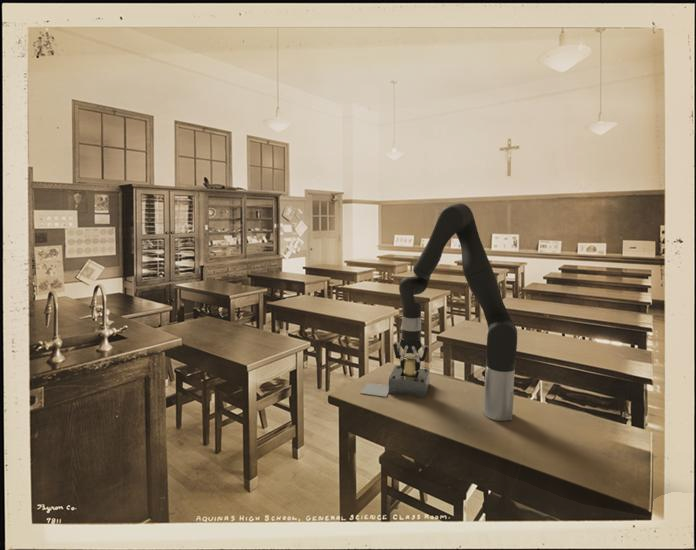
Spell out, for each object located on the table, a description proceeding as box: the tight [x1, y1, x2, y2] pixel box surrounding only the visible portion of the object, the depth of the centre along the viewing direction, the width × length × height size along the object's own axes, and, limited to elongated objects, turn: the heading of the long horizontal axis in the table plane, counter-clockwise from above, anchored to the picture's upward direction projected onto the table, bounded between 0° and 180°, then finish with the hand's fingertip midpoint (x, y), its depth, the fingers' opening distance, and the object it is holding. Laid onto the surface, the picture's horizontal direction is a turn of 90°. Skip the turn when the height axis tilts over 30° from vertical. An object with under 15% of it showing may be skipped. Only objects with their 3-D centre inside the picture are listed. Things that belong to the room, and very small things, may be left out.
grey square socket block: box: [388, 364, 431, 399], centre depth 161 cm, size 14×14×7 cm
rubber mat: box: [360, 382, 390, 398], centre depth 159 cm, size 10×10×1 cm
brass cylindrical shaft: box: [403, 355, 417, 378], centre depth 160 cm, size 5×5×12 cm
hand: (410, 369), depth 160 cm, fingers closed on brass cylindrical shaft, 5 cm apart
